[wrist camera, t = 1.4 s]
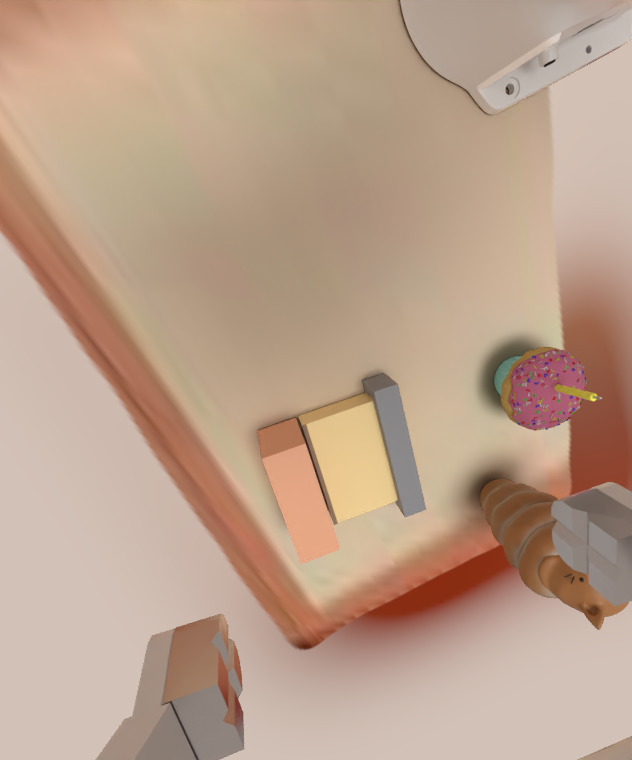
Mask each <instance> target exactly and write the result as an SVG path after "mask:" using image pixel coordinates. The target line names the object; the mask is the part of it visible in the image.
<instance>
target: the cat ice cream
mask: <svg viewBox="0 0 632 760" xmlns="http://www.w3.org/2000/svg"><path fill="white" fill-rule="evenodd" d="M556 500H559V499H558V498H556V497H554V496H552V495H550V494H547V493H543V492H539V491H538V490H536V489H534V488H532V487H530V486H527V485H525V484H516V483H515V482H513V481H511V480H507V479H497V480H493V481H491V482H489V483H487V484H486V485H485V486H484V488H483V489H482V491H481V494H480V505H481V507H482V509H483V510H484V512H485V517H486V520H487V522H488V524H489V525H490V526H491V529H492V533H493V536H494V537H495V539H496V540H497V541H498V542H499V543H500V544H501V545H503V547H504V552H505V555H506V558H507V560H508V562H509V563H510V564H511V565H512V566H513V567H515V568H516V569H518V570H519V573H520V576H521V579H522V580H523V581H524V583H525V585H526V586H528V587H529V588H530V589H531V590H532V591H534V592H535V593H537V594H539V595H541V596H544V597H548V598H559V599H560V600H561V601H562V602H563V603H565V604H567V605H569V606H570V607H572V608H574V609H576V610H578V611H580V612H583V613H584V614H585V616H586V617H587V618H588V620H589V621H590V622H591V623H592V624H593V625H594V626H595V627H596V628H597V629H598V630H599V629H600V628H601V626H602V624H603V621H604V617H608V616H612V615H615V614H617V613H619V612H620V611H622V610H623V609H624V608H625V607H626V606H627V605H628V603H629V602H627V603H624V604H621V605H618V606H615V607H614V606H613V605H612V604H611V603H610V602H609V601H608V600H607V599H605V598H604V597H603V596H602V595H601V594H600V593H599V592H597V591H596V590H595V589H594V588H593V587H592V586H591V585H590V584H589V582H588V578H587V574H584V573H581V572H578V571H575V570H573V569H572V568H571V567H570V566H568V565H567V564H566V563H565V562H564V561H563V559H562V558H561V557H560V555H559V554H558V552H557V550H556V548H555V546H554V544H553V539H552V529H553V527H554V526H555V524H556V522H557V520H556V519H555V518H554V517H553V516H552V515H551V506H552V504H553V502H554V501H556Z"/></svg>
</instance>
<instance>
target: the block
mask: <svg viewBox="0 0 632 760" xmlns="http://www.w3.org/2000/svg"><path fill="white" fill-rule="evenodd" d="M258 437H259V444H260V451H261V458H262V461H263V464H264V467H265V469H266V472H267V475H268V477H269V480H270V483H271V485H272V488H273V491H274V493H275V496H276V499H277V501H278V504H279V507H280V509H281V512H282V515H283V517H284V520H285V523H286V525H287V528H288V531H289V533H290V536H291V539H292V541H293V544H294V547H295V549H296V552H297V555H298V557H299V560H300V563H301V564H303V563H305V562H308V561H310V560H313V559H316V558H318V557H321V556H323V555H326V554H329V553H331V552H334V551H337V550H339V549H340V547H339V544H338V541H337V538H336V535H335V532H334V529H333V526H332V522H331V519H330V516H329V513H328V510H327V507H326V504H325V501H324V498H323V495H322V492H321V489H320V486H319V483H318V480H317V477H316V474H315V470H314V467H313V464H312V461H311V458H310V455H309V452H308V449H307V446H306V443H305V440H304V438H303V435H302V433H301V430H300V428H299V425H298V423H297V420H296V418H293V419H290V420H287V421H284V422H281V423H279V424H276V425H273V426H270V427H267V428H264V429H261V430H258Z"/></svg>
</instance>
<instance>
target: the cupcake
mask: <svg viewBox="0 0 632 760" xmlns="http://www.w3.org/2000/svg"><path fill="white" fill-rule="evenodd" d="M582 368H584V367H582V366H581V364H580V362H579V361H578V360H577V359H576V358H574V357H573V356H572V355H571V354H569V352H566V351H564V350H559V349H556V348H552V347H540V348H537V349H533V350H529V351H527V352H526V353H525V354H524V355H523V356H514V357H511V358H509V359H507V360H505V361H504V362H503V363H502V364H501V365H500V366H499V368H498V369H497V371H496V374H495V377H494V385H495V388H496V390H497V392H498V393H499V394H500V396H501V403H502V406H503V408H504V410H505V411H506V413H507V415H508V417H509V418H510V420H512V421H513V422H515V423H517V424H518V425H520V426H523V427H526V428H528V429H532V430H540V429H546V430H547V429H548V428H551V427H555V426H556V425H557V426H558V424H559V425H560V423H563V422H565V421H567V420H568V419H570V416H571V415H572V414H573V413H574V412H575V411H576V410H577V409H578V407H580V406H579V405H580V404H581V401H582V400H583V399H587V400H591V401H595V400H596V399H602V397H598V396H597V395H596V394H595V393H591V392H587V391H585V388H586V386H585V385H586V383H587V380H586V378H585V377H584V372H583V369H582ZM582 398H583V399H582Z"/></svg>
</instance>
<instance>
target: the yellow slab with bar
mask: <svg viewBox="0 0 632 760" xmlns="http://www.w3.org/2000/svg"><path fill="white" fill-rule="evenodd" d="M362 382H363V386H364V390H365V392H366V393H363V394H360V395H357V396H355V397H352V398H349V399H346V400H343V401H340V402H337V403H334V404H331V405H328V406H325V407H323V408H320V409H317V410H314V411H311V412H308V413H305V414H302V415H299V416H298V417H299V420H300V423H301V426H302V429H303V432H304V436H305V439H306V442H307V445H308V448H309V451H310V454H311V457H312V460H313V463H314V466H315V469H316V472H317V475H318V479H319V482H320V485H321V488H322V491H323V494H324V497H325V500H326V503H327V506H328V509H329V512H330V515H331V517H332V520H333V523H334V525H335V524H338V523H339V522H342V521H344V520H347V519H350V518H352V517H355V516H358V515H360V514H363V513H366V512H368V511H371V510H374V509H376V508H379V507H382V506H384V505H387V504H390V503H392V502H395V503H396V504H397V506H398V507H399V509H400V510H401V512H402V513H403V515H404V516H405V517H408V516H410V515H413V514H415V513H418V512H421V511H423V510H426V507H425V503H424V498H423V494H422V489H421V485H420V481H419V476H418V472H417V467H416V463H415V458H414V454H413V449H412V445H411V441H410V436H409V432H408V427H407V423H406V418H405V414H404V410H403V405H402V401H401V396H400V392H399V387H398V384H397V383H396V382H395V381H393V380H392V379H391V378H390V377H388V376H387V375H386V374H384V373H383V374H380V375H377V376H374V377H371V378H368V379H365V380H362Z"/></svg>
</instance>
